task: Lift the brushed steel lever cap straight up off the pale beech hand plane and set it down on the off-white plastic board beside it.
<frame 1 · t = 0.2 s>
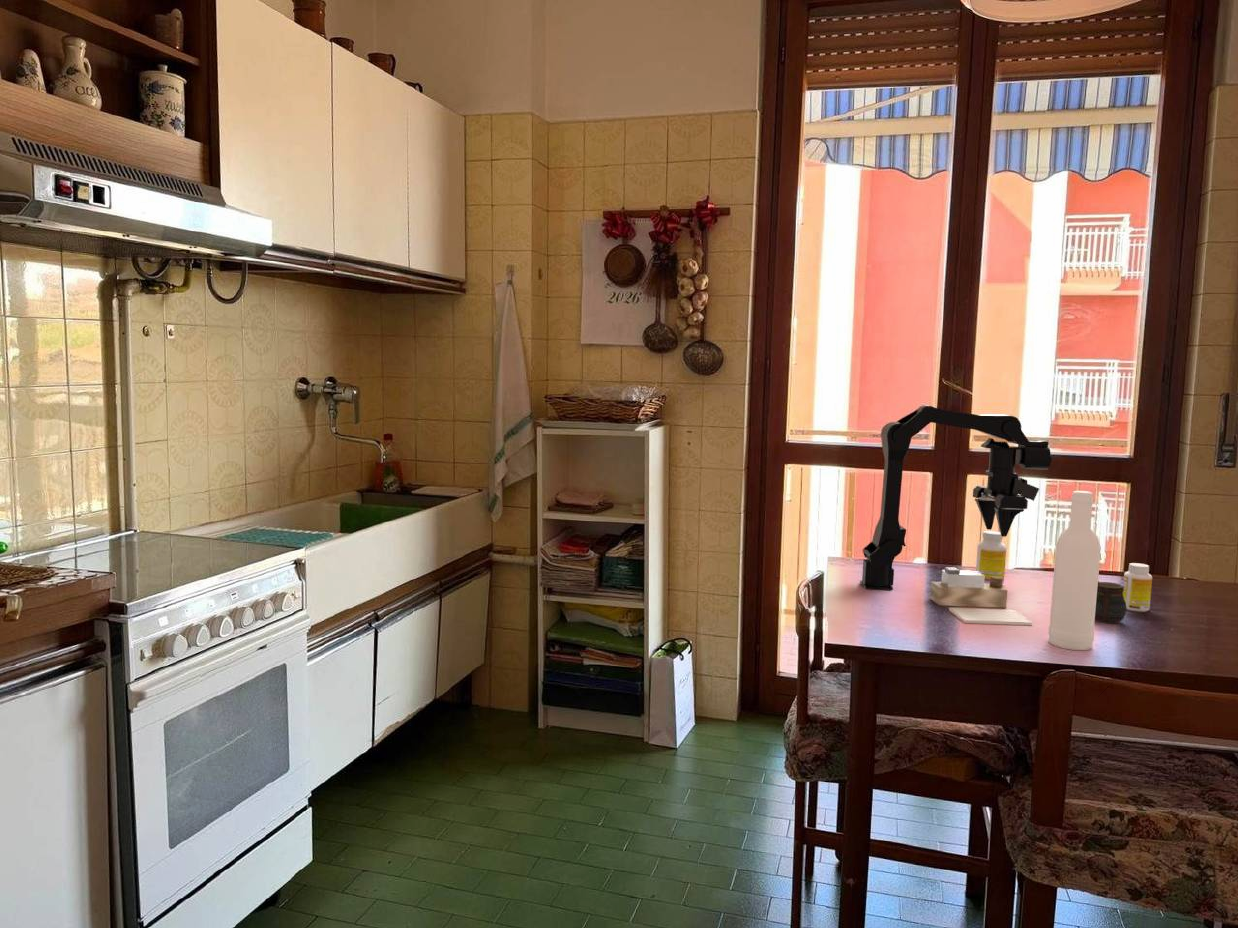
hand: (996, 532, 220), 14 cm above the table, tool pointing down, fingers open, 9 cm apart
supplement bottle 2: (1135, 609, 209), on the table
mate gourd: (1105, 621, 198), on the table
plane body: (967, 602, 210), on the table
bottle: (1070, 645, 180), on the table
supplement bottle: (989, 584, 230), on the table
lever cap: (962, 585, 209), point 4 cm above the table, touching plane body
board: (989, 617, 198), on the table
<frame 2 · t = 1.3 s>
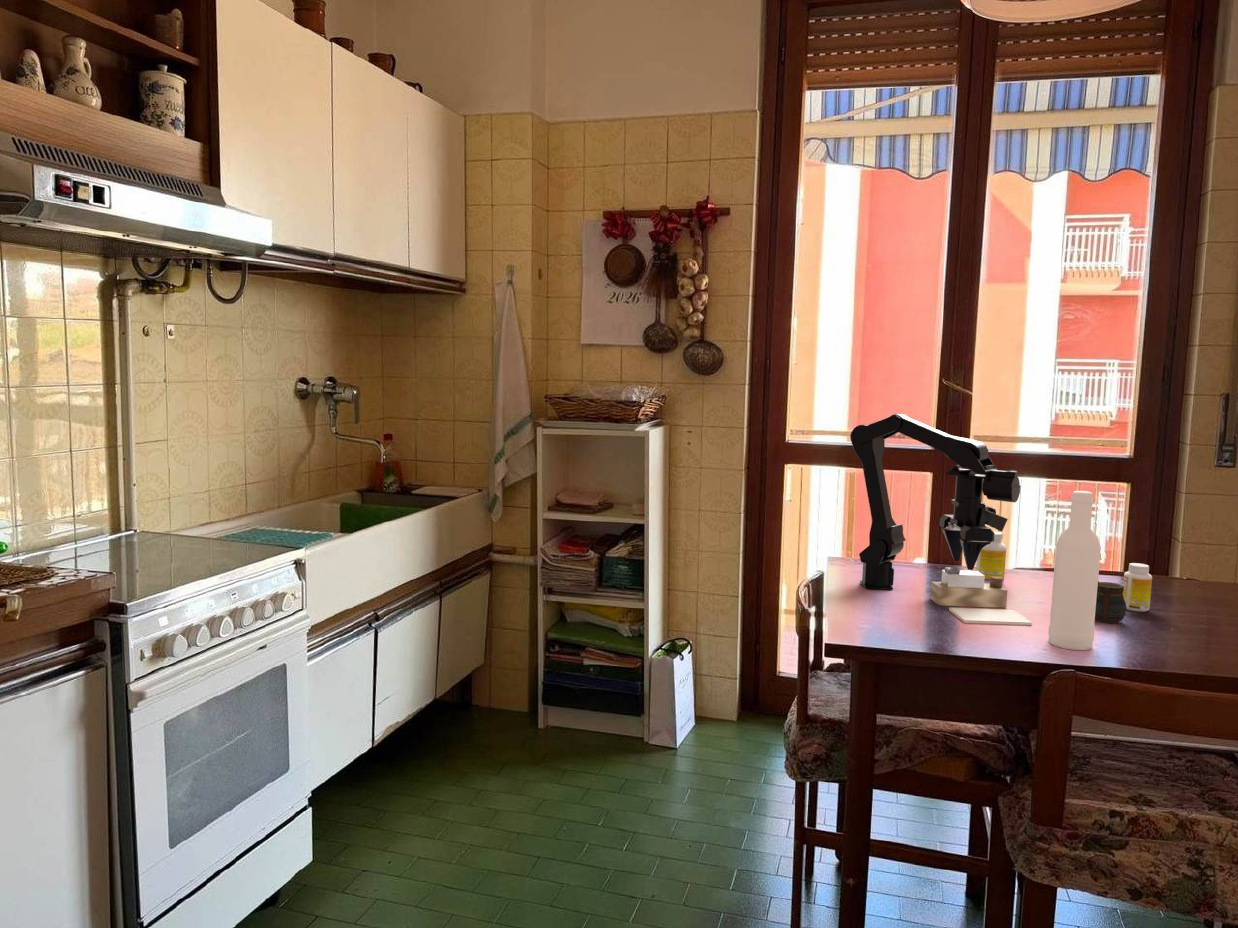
hand: (963, 565, 209), 9 cm above the table, tool pointing down, fingers open, 9 cm apart
nothing on the table moved.
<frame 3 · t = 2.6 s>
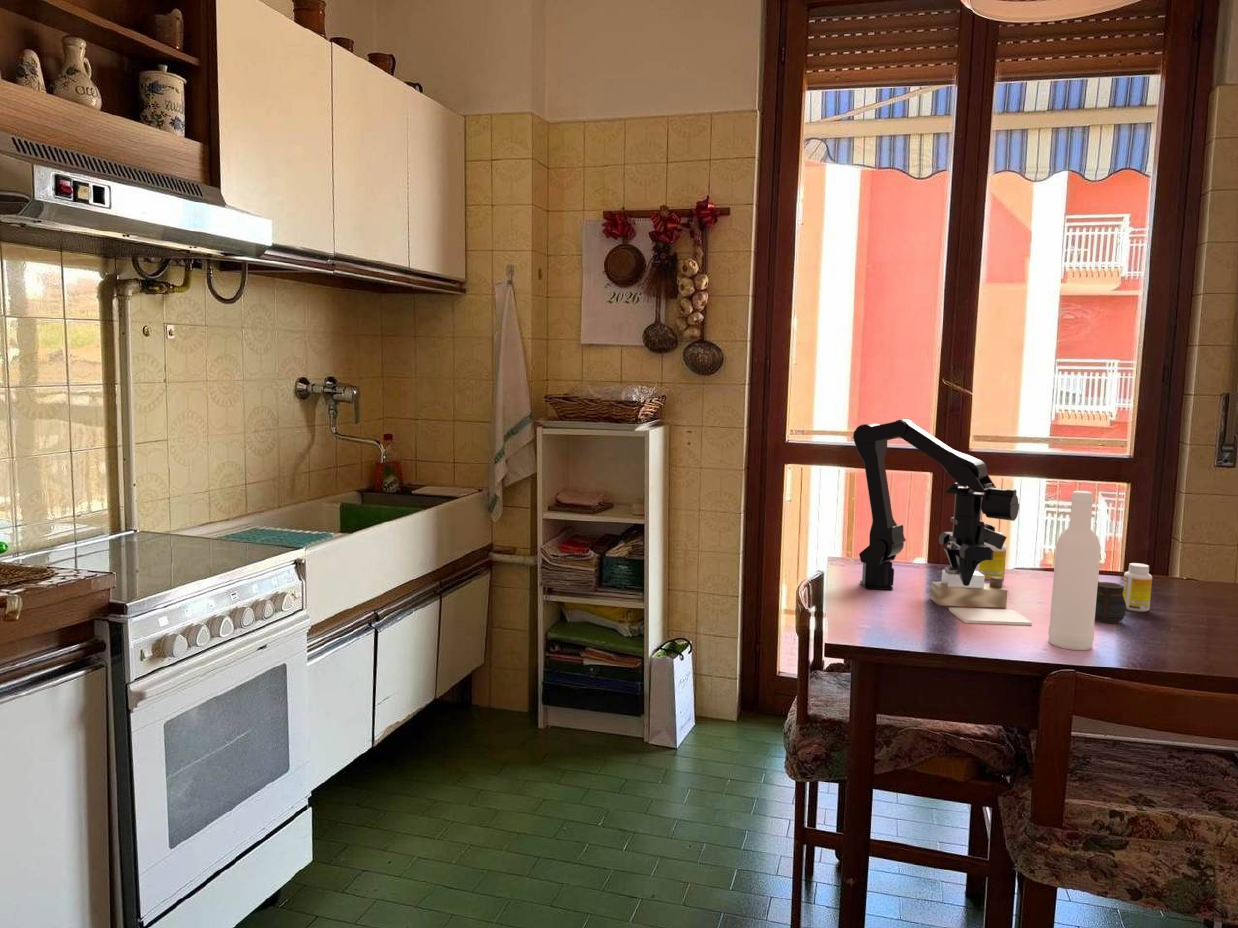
hand: (962, 582, 209), 5 cm above the table, tool pointing down, fingers closed on lever cap, 5 cm apart
lever cap: (962, 585, 209), point 4 cm above the table, touching gripper, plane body
everything else where it was.
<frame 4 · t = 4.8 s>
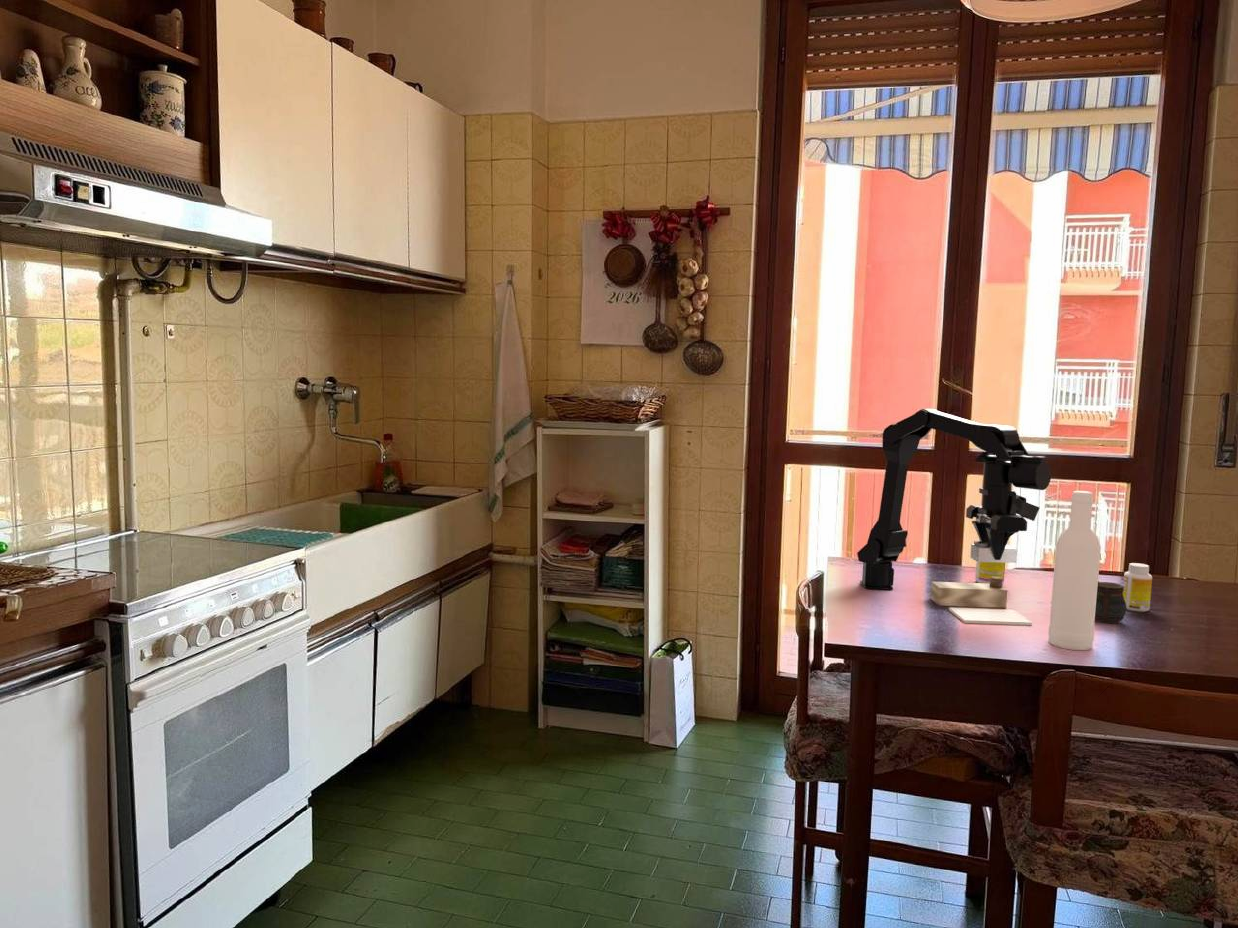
hand: (993, 557, 197), 13 cm above the table, tool pointing down, fingers closed on lever cap, 5 cm apart
lever cap: (993, 560, 197), point 12 cm above the table, touching gripper
everything else where it was.
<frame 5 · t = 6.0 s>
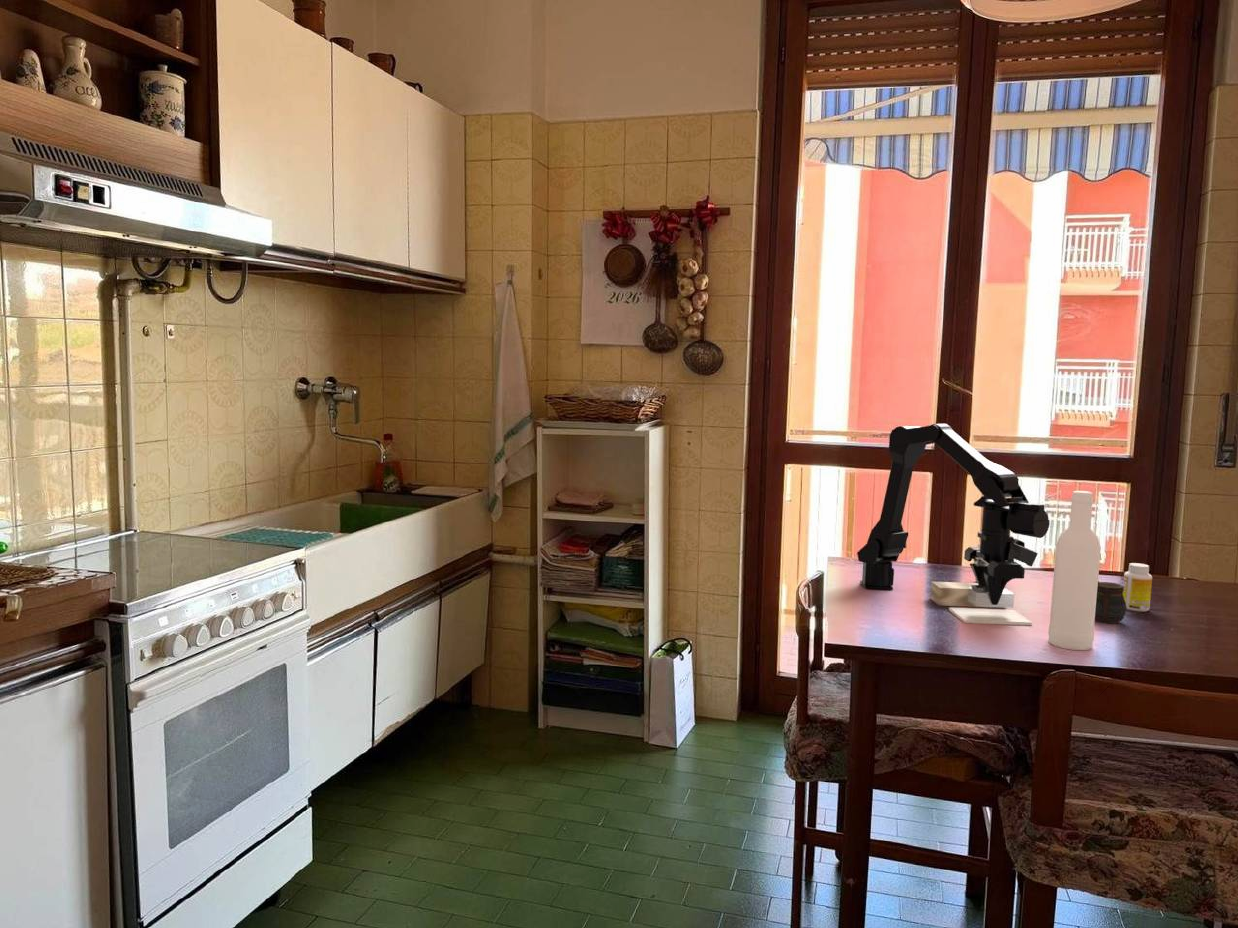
hand: (990, 601, 197), 3 cm above the table, tool pointing down, fingers closed on lever cap, 5 cm apart
lever cap: (990, 604, 198), point 3 cm above the table, touching gripper
everything else where it was.
when the fingers open (2 cm above the table, at t = 6.9 s): lever cap drops 1 cm, resting on board.
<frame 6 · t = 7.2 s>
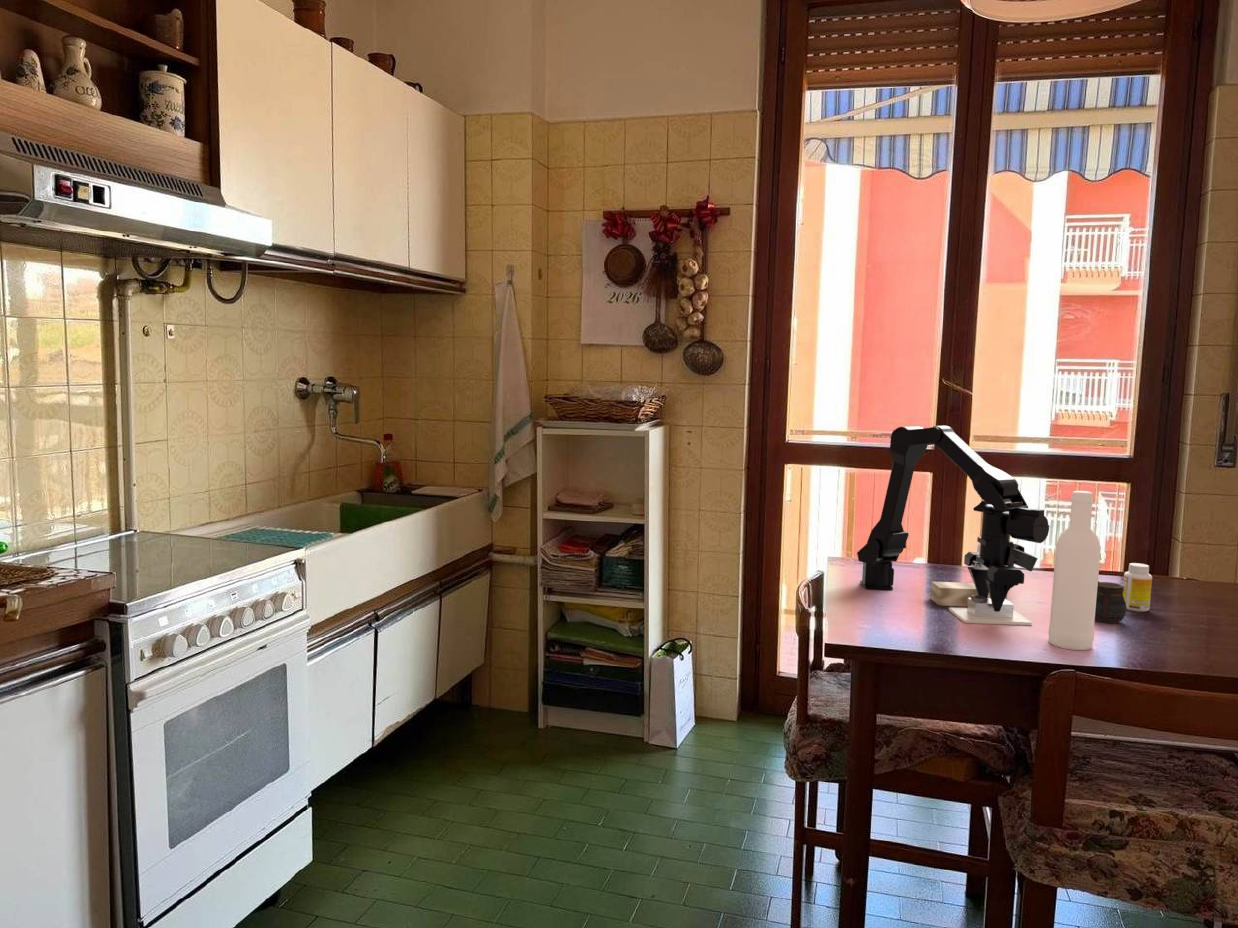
hand: (990, 606, 198), 2 cm above the table, tool pointing down, fingers open, 7 cm apart
lever cap: (989, 614, 198), point 1 cm above the table, touching board
everything else where it was.
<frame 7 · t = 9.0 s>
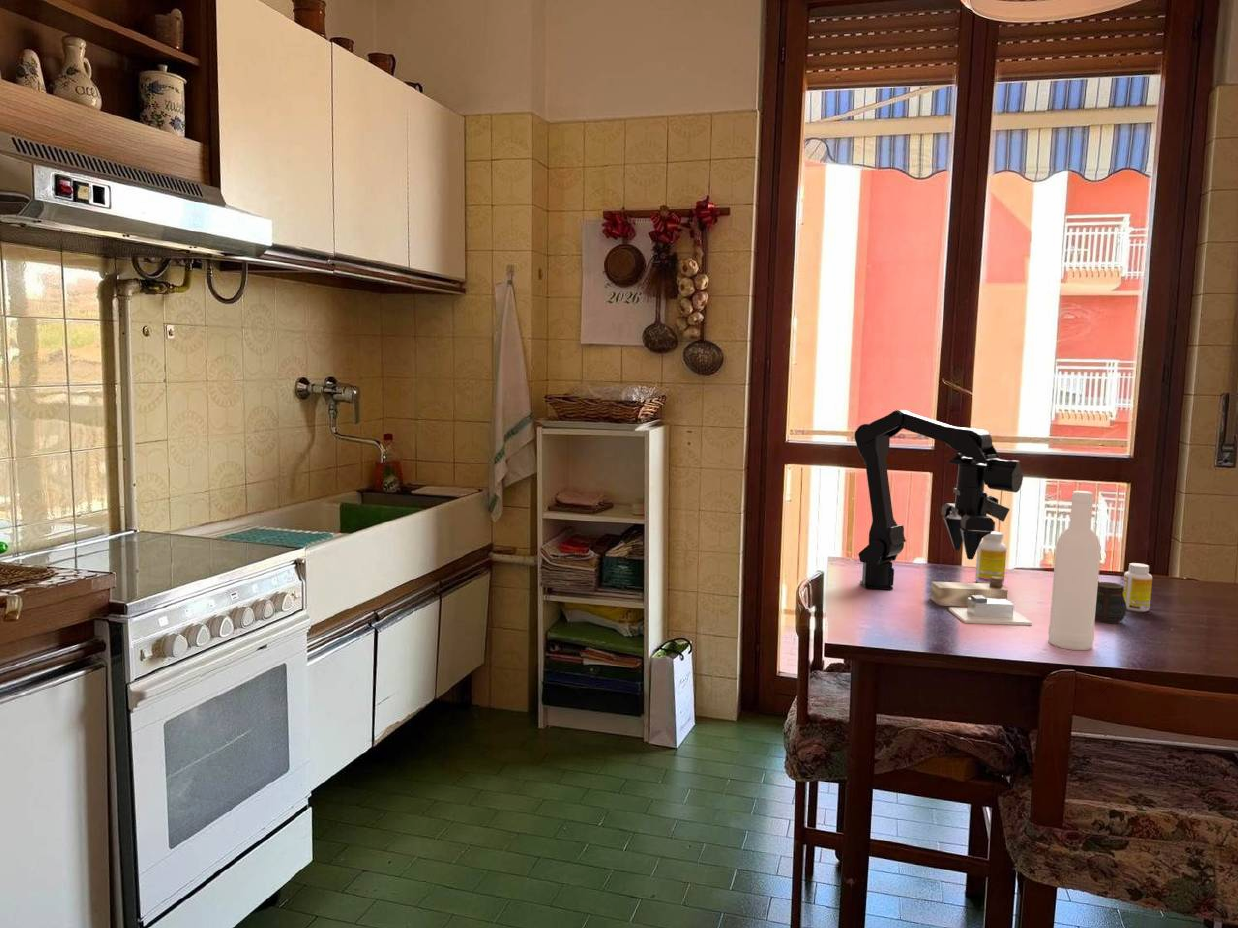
hand: (963, 554, 207), 11 cm above the table, tool pointing down, fingers open, 9 cm apart
nothing on the table moved.
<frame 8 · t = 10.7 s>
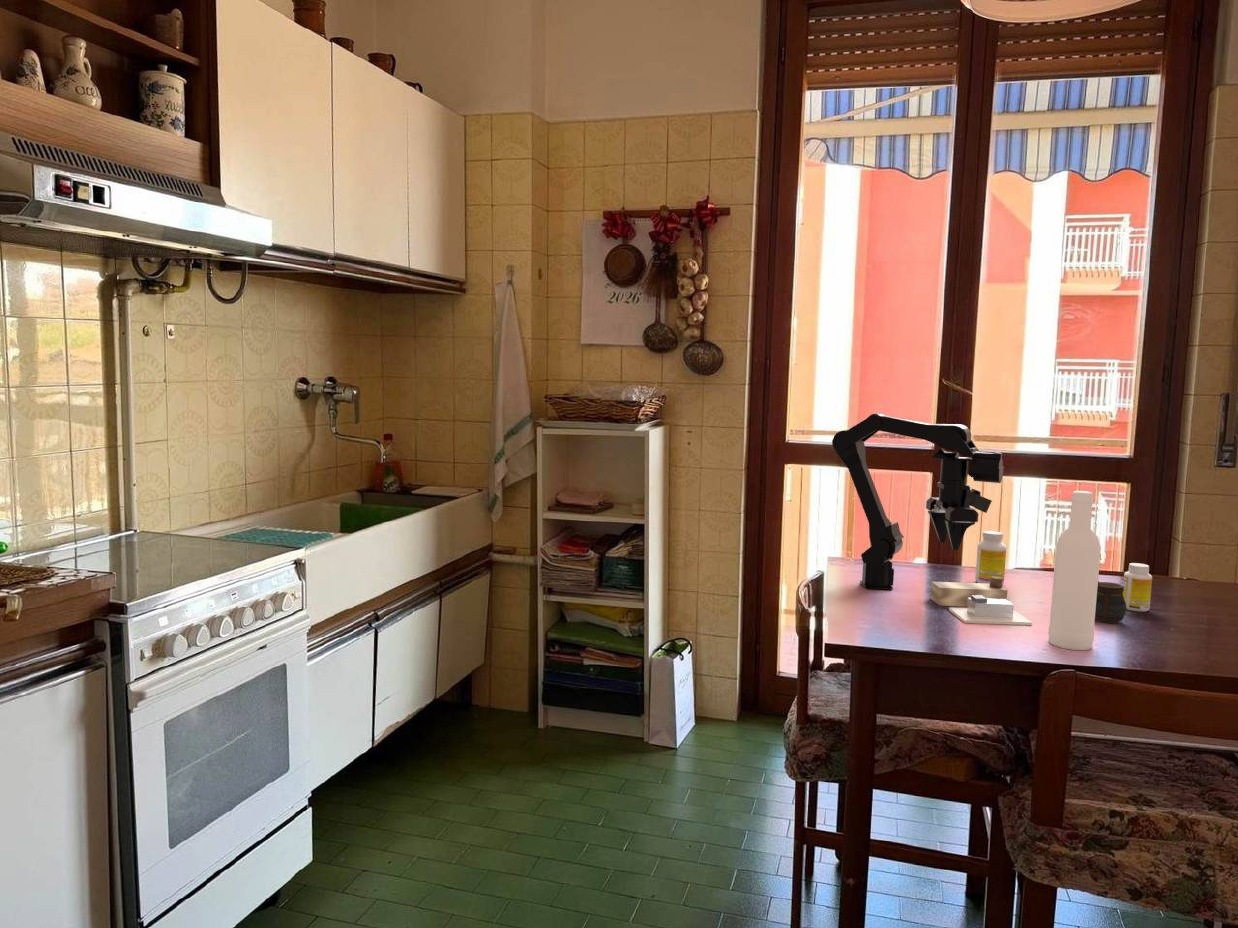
hand: (948, 546, 213), 12 cm above the table, tool pointing down, fingers open, 9 cm apart
nothing on the table moved.
at the end: lever cap inside the target area on the board (0.1 cm from its centre), point 0.6 cm above the board's base; lever cap tilted 0°; the gripper is holding nothing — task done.
